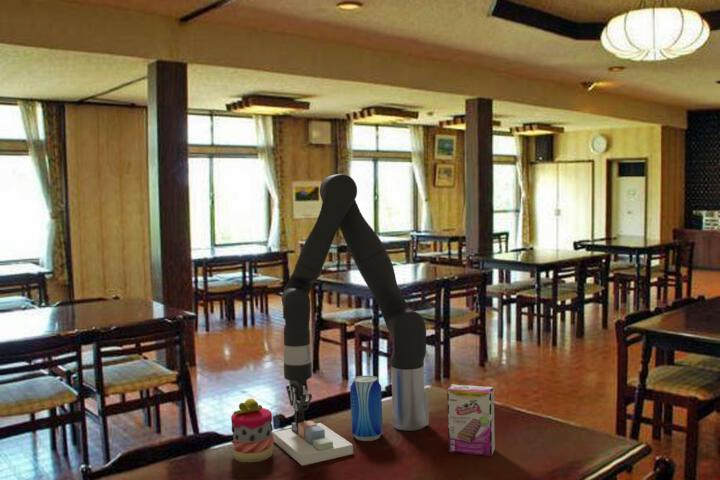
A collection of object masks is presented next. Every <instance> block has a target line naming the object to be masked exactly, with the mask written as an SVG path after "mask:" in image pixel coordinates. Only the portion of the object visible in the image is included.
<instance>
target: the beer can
mask: <svg viewBox="0 0 720 480" xmlns="http://www.w3.org/2000/svg"><path fill="white" fill-rule="evenodd" d="M352 381H353V382H352V383H351V385H350V387H349V390H350V391H349V393H350V417H351V418H350V419H351V420H350V421H351V433H352V435H353V436H354V438H355V439H356V440H358V441H361V442H372V441H376V440H378V439H379V438H381V435H382V434H383V431H384V430H383V429H384V428H383V426H384V425H383V403H382V402H383V401H382V385H381V383H380V382H379V380H378V377H377V376H374V375H359V376H355V377H354V378H353V379H352Z"/></svg>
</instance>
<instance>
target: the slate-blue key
mask: <svg viewBox="0 0 720 480" xmlns="http://www.w3.org/2000/svg"><path fill="white" fill-rule="evenodd" d="M305 435H306V442H307V443H308V444H310V445H313V440H315V439H320V438H324V437H325V430H324V429H323V428H321V427H320V426H314V427H309V428H305Z"/></svg>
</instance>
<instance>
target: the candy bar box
mask: <svg viewBox="0 0 720 480" xmlns="http://www.w3.org/2000/svg"><path fill="white" fill-rule="evenodd" d="M446 392H447V393H446V394H447V395H446V396H447V397H446V398H447V438H448V439H447V440H448V445H447V446H448V448H447V449H448V452H449V453H455V454H465V455H466V454H467V455H477V456H487V457H493V454H494V452H495V450H496V449H495V448H496V440H495V438H496V437H495V388H494V386H493V387H492V386H483V385H482V386H480V385H465V384H450V386H449V387H447V391H446Z"/></svg>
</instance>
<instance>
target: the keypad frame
mask: <svg viewBox="0 0 720 480" xmlns="http://www.w3.org/2000/svg"><path fill="white" fill-rule="evenodd" d="M316 424H317V426H320V427H321V428H323V429H324V430H325V437H327V438H329V439H330V440H331V441H333V448H331V449H327V450H322V451H318V450H316V449H315V448H314V447H313V445H310V444H308V443H307V442H306V439H305V440H303V439H302V438H301V437H299V434H296V433H294V432H293V431H292V428H288V429H282V430H279V431H272V435H273V437H274V442H273V443H275V444H277V446H279V447H280V448H281V449H282V450H283V451H284V452H285V453H286V454H288V455H289V456H290V457H291V458H292V459H293V460H295V461H296V462H297V463H298V464H299V465H300V466H307V465H311V464H315V463H320V462H324V461H329V460H333V459H337V458H341V457H346V456H350V455H353V454H354V446H353V443H351V442H350V441H348V440H347V439H346V438H344V437H343V436H341V435H339V434H338V433H336V432H335V431H333V430H332V429H330V428H329V427H327V426H326V425H324V424H323V423H322V422H318V423H316Z"/></svg>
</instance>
